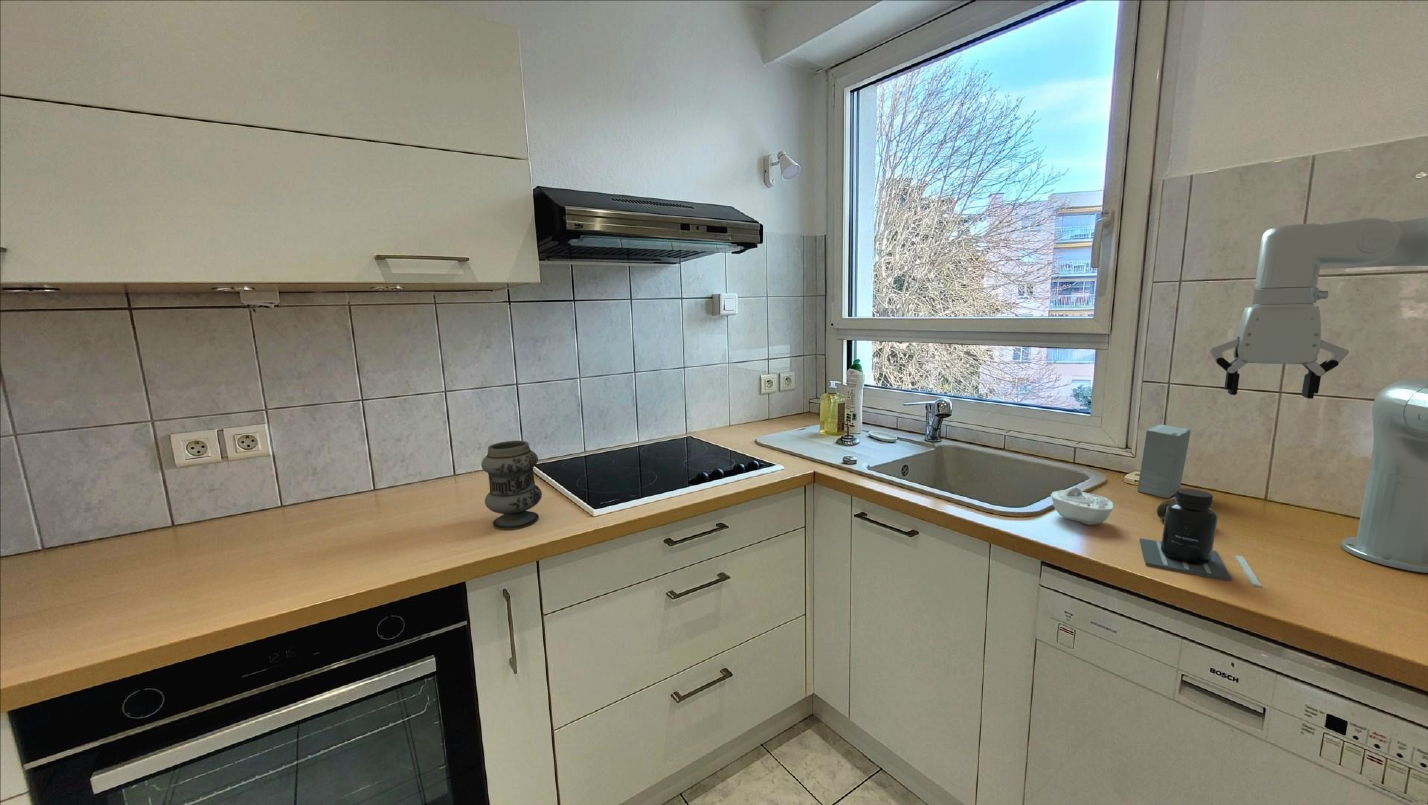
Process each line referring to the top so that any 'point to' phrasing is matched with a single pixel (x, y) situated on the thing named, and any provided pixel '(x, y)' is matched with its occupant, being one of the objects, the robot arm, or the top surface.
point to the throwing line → (1248, 571)
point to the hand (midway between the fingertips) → (1268, 395)
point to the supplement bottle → (1189, 527)
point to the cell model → (1081, 506)
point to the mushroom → (1164, 507)
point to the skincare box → (1163, 460)
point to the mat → (1160, 560)
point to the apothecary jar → (511, 484)
